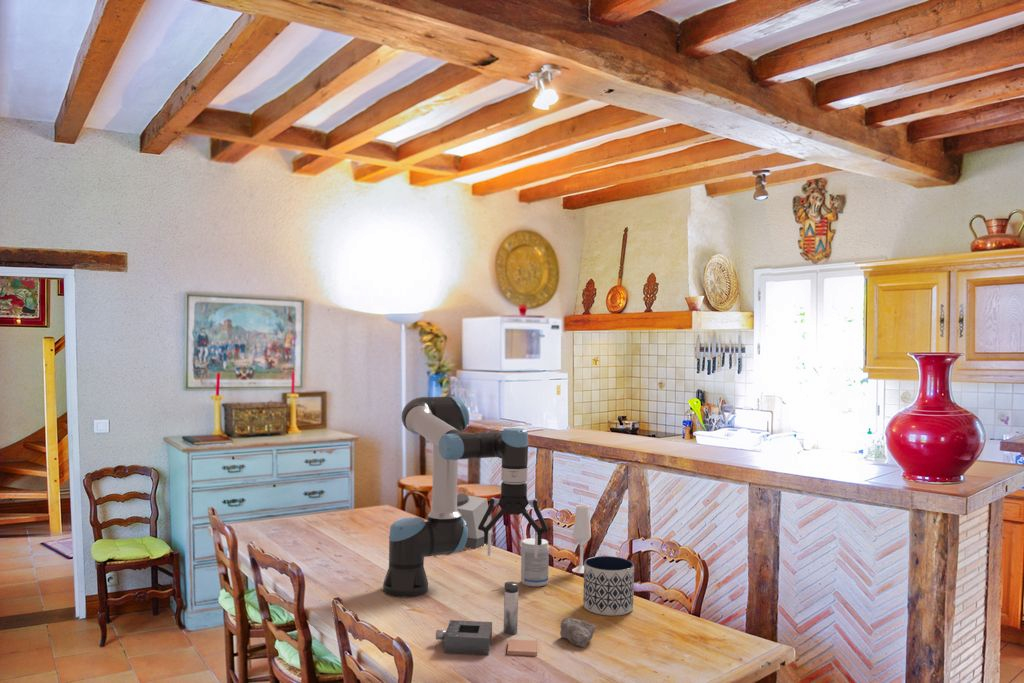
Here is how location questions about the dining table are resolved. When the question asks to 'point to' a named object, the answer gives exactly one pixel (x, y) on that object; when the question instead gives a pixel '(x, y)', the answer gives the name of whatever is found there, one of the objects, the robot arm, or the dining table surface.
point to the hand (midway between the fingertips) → (512, 555)
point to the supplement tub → (534, 563)
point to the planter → (608, 585)
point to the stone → (576, 631)
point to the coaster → (522, 647)
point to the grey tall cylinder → (511, 608)
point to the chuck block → (466, 637)
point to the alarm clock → (473, 518)
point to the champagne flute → (581, 531)
